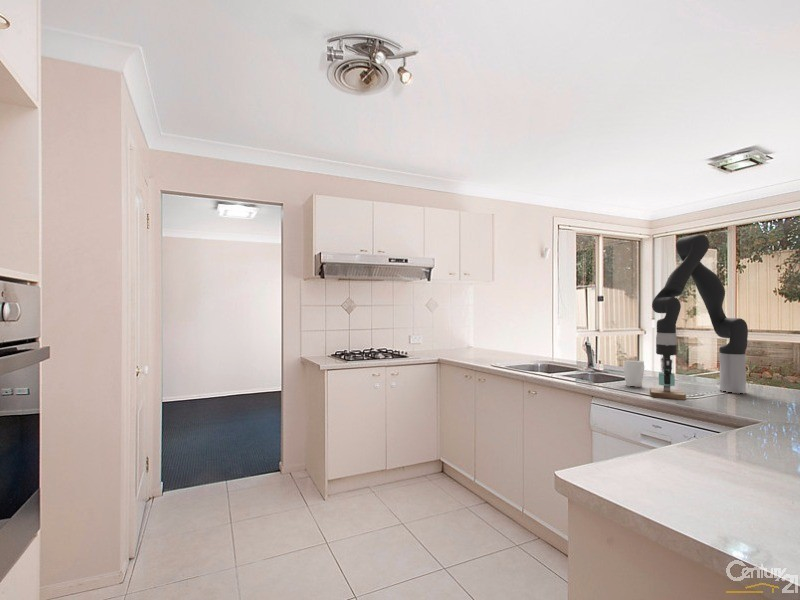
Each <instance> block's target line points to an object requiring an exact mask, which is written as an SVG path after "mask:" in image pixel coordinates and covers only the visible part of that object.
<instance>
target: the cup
mask: <svg viewBox="0 0 800 600" xmlns="http://www.w3.org/2000/svg"><path fill="white" fill-rule="evenodd" d="M622 367H623V368H622V369H623V375H624V381H625V382H624V383H625V386H627V387H630V386H635V387H634V388H641V387H642V386H643V380H644V374H645V361H643V360H634V359H625V360H623V363H622Z"/></svg>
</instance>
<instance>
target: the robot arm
mask: <svg viewBox="0 0 800 600" xmlns="http://www.w3.org/2000/svg"><path fill="white" fill-rule="evenodd" d="M675 246H676V247H675V248H676V249H675V250H676V252H677V254H678V256H679V258H680V259H681V261H682V262H681V263H680V264H679V265H678V266H677V267H676V268H675V269H674V270H673V271H672V272H671V273H670V275H668V276H669V277H668V278H667V280H666V282H665V285H664V286H663V288H662V289H661V290H660V291H659V292H658V293H657V294H656V295H655V297H654V298H653V300H652V302H651V308H652V310H653V311H654V312H655V313H656V314H665V316H664V318H661V319H658V320H657V321H656V336H655V353H656V354H657V355H661V358H660V363H661V364H660V365H661V367H660V368H661V372H664V384H668V385H670V384H671V379H670V376H671V374H672V373H673V372H672V370H673V359H672V358H671V357H672V356H677V354H678V340H677V339H678V338H677V322H678V319H679V315H680V311H681V307H682V306H681V305H682V304H681V301H680V300H679V298H678V296H681V295H682V294H683V292H684V289H685V288H686V285H687V283H688V281H689V279H690V277H691V278H692V280H693V282H694V284H695V287H696V290H697V291H698V293H699V295H700V298H701V299H702V301H703V303H704V306H705V307H706V310H707V313H708V315H709V319H710V321H711V325H712V328H713V330H714V332H715V334H716V335H717V336H718V337H719V338H723V339H729V340H728V343H726V344H724V345H721V346H720V347H719V352H718V353H719V391H720V390H722V391H721V392H723V391H726V392H725V393H728V392H732V393H731V394H740V393H743V394H746V393H747V373H746V371H747V370H746V369H747V366H746V365H747V363H746V362H747V361H746V350H747V347H748V337H749V336H748V335H749V329H748V323H747V322H746V320H744V319H743V318H737V317H727V315H726V314H725V312H724V309H723V304H724V300H725V296H726V290H725V287H724V285H723V283H722V280H721V279H720V277H719V276H718V275H717V274H716V273H715V272H714V271H713V270H711V269H710V268H708V267H707V266H706V265H704V264H703V263H702V262H701V261H702V259H703V258H704V256H705V255H706V254H707V252H708V251H709V249H710V241H709V238H708V237H707V236H706V235H705V234H702V233H701V234H700V233H699V234H693V235H688V236H684V237H681V238H678V239H677V240H676V244H675Z"/></svg>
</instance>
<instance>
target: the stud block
mask: <svg viewBox="0 0 800 600" xmlns="http://www.w3.org/2000/svg"><path fill="white" fill-rule="evenodd" d="M649 394H650V397H651V398H656V399H657V398H658V399H668V400H669V399H670V400H680V401H681V400H682V401H686V400H687V396H686V394H685V392H684V390H682V389H681V390H680V389H671V386H664V385H663V388H659V387H657V388H655V387H650V388H649Z"/></svg>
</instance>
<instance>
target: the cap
mask: <svg viewBox="0 0 800 600" xmlns="http://www.w3.org/2000/svg"><path fill="white" fill-rule="evenodd" d="M671 373H672V374H671V376H670V379H671V384H670V385H668V384H664V372H662V371H659V372H658V385H660V386H663V387H664V386H670V387H675V385H676V379H675V377H676V376H675V373H674V372H671Z"/></svg>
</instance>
